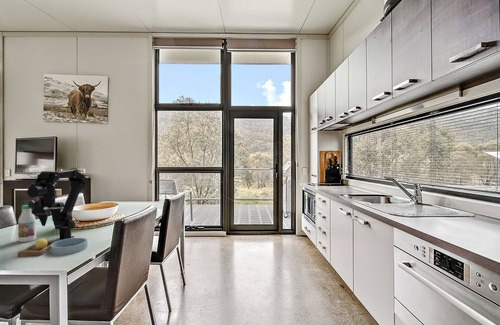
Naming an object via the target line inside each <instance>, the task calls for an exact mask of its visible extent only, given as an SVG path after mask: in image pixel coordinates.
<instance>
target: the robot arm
mask: <svg viewBox="0 0 500 325" xmlns="http://www.w3.org/2000/svg"><path fill="white" fill-rule="evenodd" d="M63 178H68V179H67V180H68V181H69V185H70V188H71V189H70V191H69V193H68V196H67V198H66V199H65V200H66V201H65V203H64V202H63V201H57V202H56V199H57V198H58V195H56V186H58V185H59V184H58V182H57V181H59V180H60V179H63ZM87 183H88V178H87V177H86V176H85V175H84V174H83V173H81V172H79V171H78V169H73V168H71V169H70V168H68V169H65V170H57V171H55V170H53V171H51V170H50V171H49V170H46V171H45V170H44V171H43V170H42V171H41V172H40V173H39V174H38V176H37V178H36V180H35V182H33V183H30V187H28V189H27V191H26V194H27V196H28V197H29V198H38V197H39V198H38V199H39V200H36V201H35V200H33V199H32V200H29V201H28V202H27V205H28V207H30V208H31V209H32V210H31V214H33V215H34V216H35V217H37V218H38V220H39V222H40V224H41V226H42V227H46V224H47V221H48V217H49V215H50V213H51V220H52V224H53V226H54V228H55V230H59V233H58V235H59V236H58V237H59V238H57V239H56V241H60V240H64V239H69V238H75V236H74V235H72V230H73V229H75V228H76V223H75V221H74V220H73V219H74V217H73V210H74V208H75V206H76V202H77V200H78V198H79V195H80V193H81V191H82V190H83V189H85V187H86V186H87Z"/></svg>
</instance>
